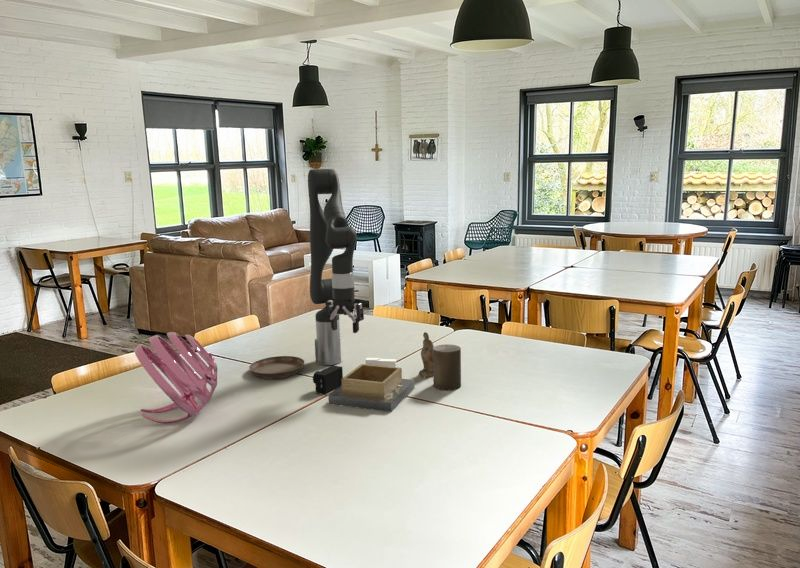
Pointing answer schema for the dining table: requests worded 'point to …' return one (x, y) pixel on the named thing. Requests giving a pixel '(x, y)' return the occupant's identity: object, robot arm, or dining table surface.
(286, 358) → the plant saucer
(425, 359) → the worn brown figurine
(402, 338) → the dining table surface
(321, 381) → the digital camera
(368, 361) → the white offset rectangular block
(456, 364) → the pillar candle
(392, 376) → the square wooden box
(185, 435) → the dining table surface
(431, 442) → the dining table surface
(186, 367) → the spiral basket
